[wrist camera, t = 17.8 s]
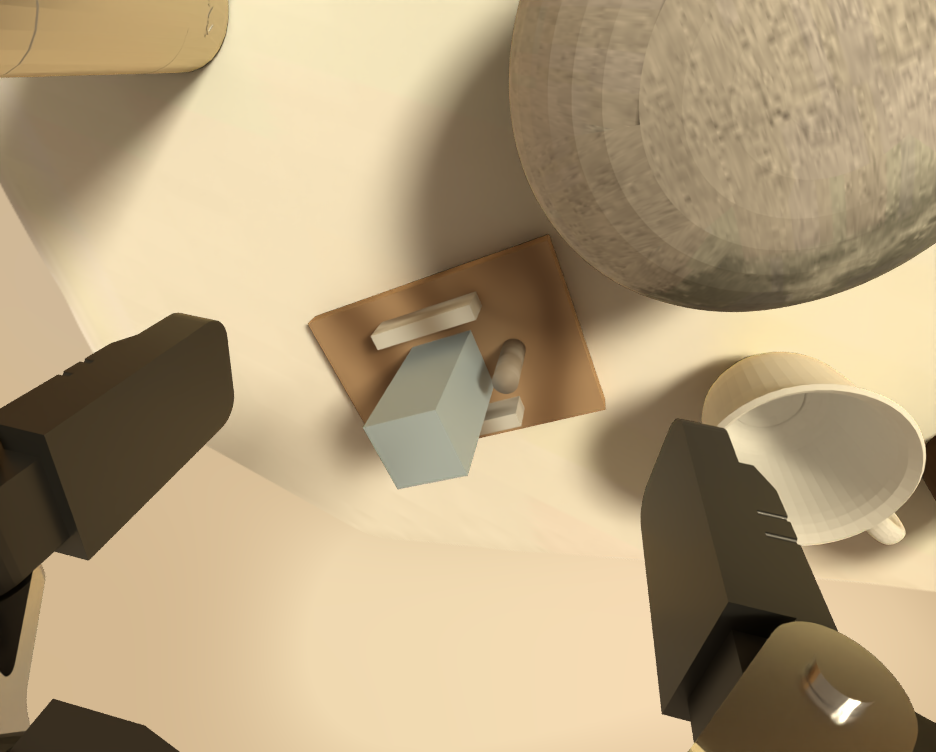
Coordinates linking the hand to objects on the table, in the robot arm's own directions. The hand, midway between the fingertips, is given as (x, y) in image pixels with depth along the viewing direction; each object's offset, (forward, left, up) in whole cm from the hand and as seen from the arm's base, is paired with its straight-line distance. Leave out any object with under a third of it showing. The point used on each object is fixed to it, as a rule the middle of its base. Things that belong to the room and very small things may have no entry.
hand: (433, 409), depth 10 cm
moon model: (+8, +6, -30) cm, 32 cm away
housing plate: (-4, -16, -30) cm, 34 cm away
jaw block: (-4, -16, -29) cm, 33 cm away
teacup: (+20, -14, -30) cm, 39 cm away
